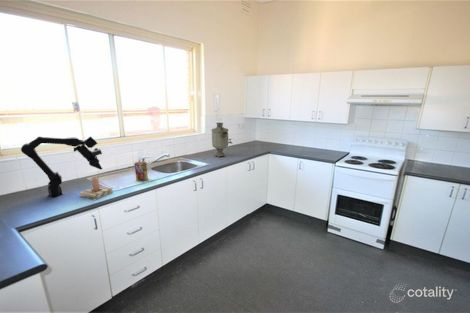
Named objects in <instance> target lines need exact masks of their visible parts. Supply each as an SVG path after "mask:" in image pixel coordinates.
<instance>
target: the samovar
mask: <svg viewBox="0 0 470 313" xmlns="http://www.w3.org/2000/svg"><path fill="white" fill-rule="evenodd" d="M215 124H216V127H215V128H212V129H211V146H212V148H214V149H216V151H217V152H216V153H215V154H214V155H213V157H215V156H216V157H217V159H219V158H220V157H223V156H224V157H227V155H226V154H225V153H224V152H223V151H224V149H226V148H228V146H229V144H232V145H233V142H232V141H231V140H232V138H229V128H228V127H227V128H226V127H224V126H223V125H224V122H216V123H215Z"/></svg>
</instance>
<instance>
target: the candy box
mask: <svg viewBox="0 0 470 313" xmlns="http://www.w3.org/2000/svg"><path fill="white" fill-rule="evenodd" d="M147 163H148V162H147V161H145V160H144V161H135V162H134V170H135V181H146V180H148V179H149V178H148V166H147Z"/></svg>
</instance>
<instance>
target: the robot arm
mask: <svg viewBox="0 0 470 313" xmlns="http://www.w3.org/2000/svg"><path fill="white" fill-rule="evenodd" d="M42 144H51V145H53V144H54V145H66V146H69V147H73V152H74V153H75V152H78V153H79V154H80V155H81V156H82V157H83V158H85V159H86V160H87V162H88V165H89V166H91V167H93V168H96V169H98V170H103V167H102V165H101V164H100V160H99V159H98V156H99V155H102V154H103V152H102V150H101V148H99V149H98V147H96V148H94V150H92V151H91V150H90V149H92V148H93V147H95V146H97V145H98V144H99V143H98V142H97V140H95V139H94V138H93V137H92V136H91V135H90V136H89V137H88V138H87V139H85V140H83V139H79V138H78V137H75V136H73V137H65V138H64V137H63V138H62V137H48V136H46V137H44V136H37V138H35V139H33V140H31V141H30V142H28V143H24V144H23V145H22V146H21V148H20V151H21V152H22V153H23V154H24V155H25V156H26V157H28V158H30V160H32V161H33V162H34V163H35V164H36V165H37V166H38V168H40V169H41V170H42V171H43V173H45V175H46V176H47V178H48V180H49V182H48V183H47V192H48V194H47V197H51V198H57V197H58V196H59V197H60V196H62V195H64V193H63V190H62V187H61V185H62V182H63V178H62V175H60V174H59V172H58V171H56V172H54V171H53V170H52V168H50V167H49V165H48V164H47V163H46V162H45V161H44V159H42V157H41V156H40V155H39V154H38V152H37V150H36V148H37V147H39V146H40V145H42Z"/></svg>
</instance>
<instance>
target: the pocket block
mask: <svg viewBox="0 0 470 313" xmlns="http://www.w3.org/2000/svg"><path fill="white" fill-rule="evenodd" d="M99 187H100V191H98V192H93V187H91V188H88V189H85V190H82V191H80V192H79V194H80V195H79V196H80V197H82V198H86V199H90V198H91V199H90V200H94V199H96V200H97V198H98V199H100V198H102V196H103V197H105V196H107V195H109V193H110V194H111V193H113V192H114V191H113V188H112V187H107V186H102V185H99ZM104 195H105V196H104ZM99 197H100V198H99Z"/></svg>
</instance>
